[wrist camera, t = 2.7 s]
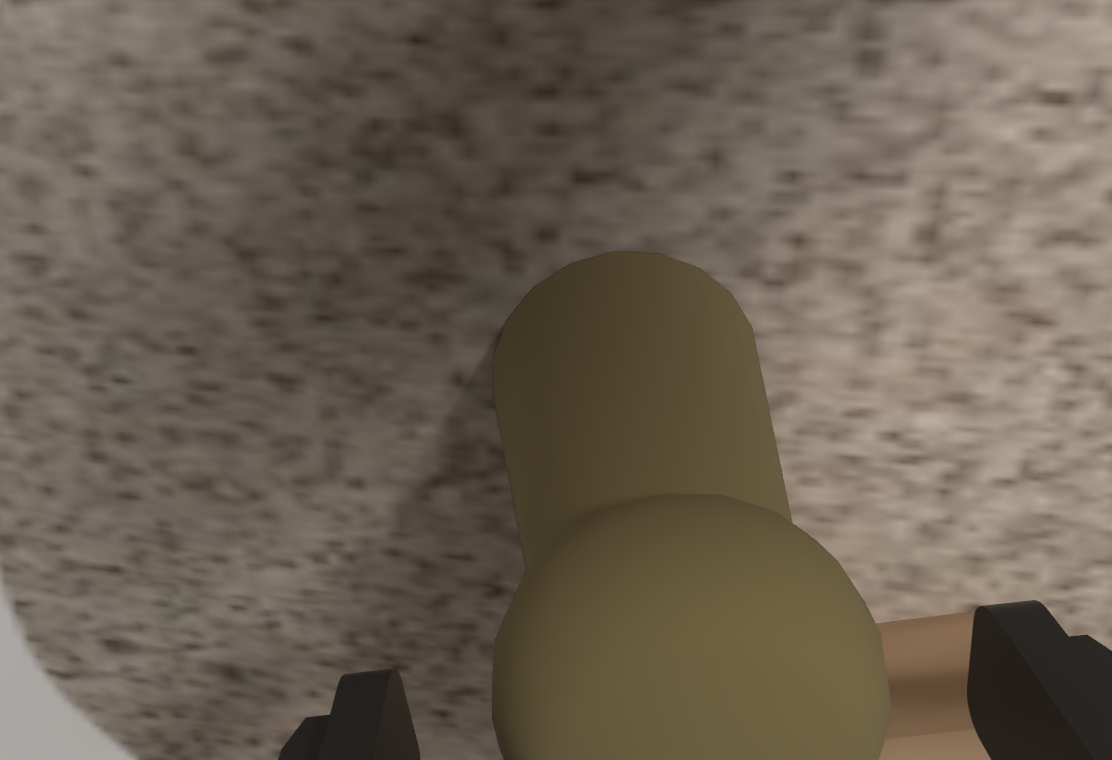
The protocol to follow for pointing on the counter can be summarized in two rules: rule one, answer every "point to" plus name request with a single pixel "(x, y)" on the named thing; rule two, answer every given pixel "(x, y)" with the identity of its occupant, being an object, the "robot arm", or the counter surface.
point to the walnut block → (929, 689)
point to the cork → (664, 539)
